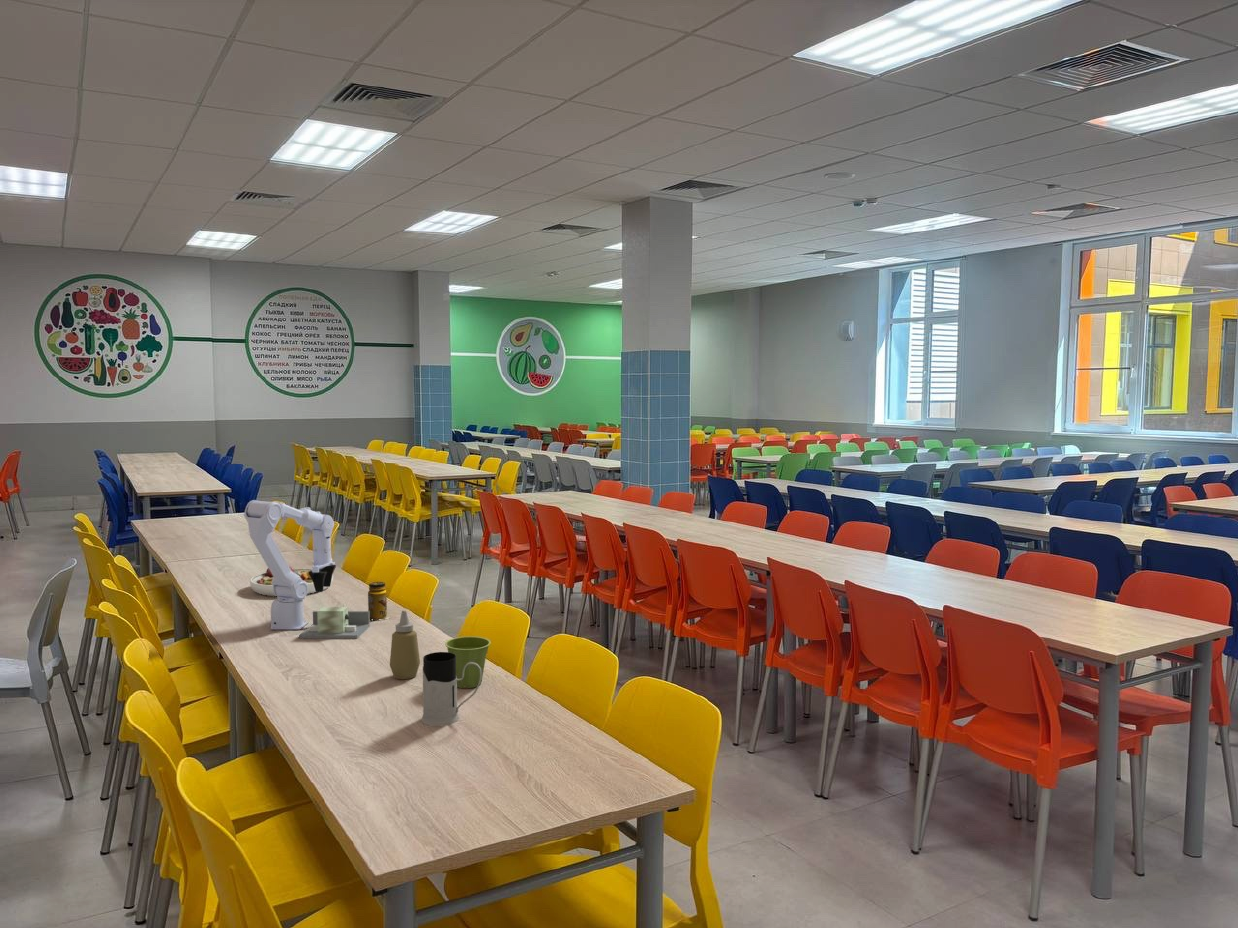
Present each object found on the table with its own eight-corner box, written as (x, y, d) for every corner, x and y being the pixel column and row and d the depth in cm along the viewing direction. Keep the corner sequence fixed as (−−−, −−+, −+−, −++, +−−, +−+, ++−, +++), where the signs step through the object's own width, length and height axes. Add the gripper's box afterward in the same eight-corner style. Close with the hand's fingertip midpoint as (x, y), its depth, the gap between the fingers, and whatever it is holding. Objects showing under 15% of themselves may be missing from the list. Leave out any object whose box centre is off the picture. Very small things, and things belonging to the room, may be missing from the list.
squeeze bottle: (426, 673, 235) (425, 608, 233) (409, 682, 227) (408, 616, 226) (400, 670, 238) (399, 606, 236) (383, 679, 230) (382, 613, 228)
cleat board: (299, 638, 267) (298, 622, 266) (314, 625, 281) (314, 610, 280) (357, 638, 267) (357, 622, 267) (369, 626, 281) (369, 611, 280)
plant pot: (476, 694, 219) (476, 651, 218) (436, 688, 223) (436, 646, 222) (499, 679, 230) (498, 638, 229) (460, 674, 234) (459, 634, 233)
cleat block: (317, 632, 269) (317, 610, 269) (323, 628, 274) (322, 606, 274) (346, 632, 269) (345, 611, 269) (351, 628, 274) (350, 606, 274)
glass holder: (426, 711, 207) (425, 650, 206) (485, 712, 207) (484, 651, 206) (416, 725, 199) (416, 662, 197) (478, 726, 198) (477, 663, 197)
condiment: (390, 618, 290) (390, 583, 289) (365, 622, 285) (365, 586, 284) (383, 614, 296) (383, 579, 295) (359, 617, 292) (358, 582, 290)
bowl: (350, 587, 337) (349, 567, 336) (283, 602, 312) (283, 581, 311) (300, 577, 353) (299, 558, 352) (233, 591, 328) (233, 571, 327)
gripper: (326, 553, 283) (327, 594, 284) (340, 545, 298) (341, 584, 299) (305, 553, 283) (306, 594, 284) (320, 545, 298) (321, 584, 299)
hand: (323, 589), depth 292 cm, fingers open, 7 cm apart
